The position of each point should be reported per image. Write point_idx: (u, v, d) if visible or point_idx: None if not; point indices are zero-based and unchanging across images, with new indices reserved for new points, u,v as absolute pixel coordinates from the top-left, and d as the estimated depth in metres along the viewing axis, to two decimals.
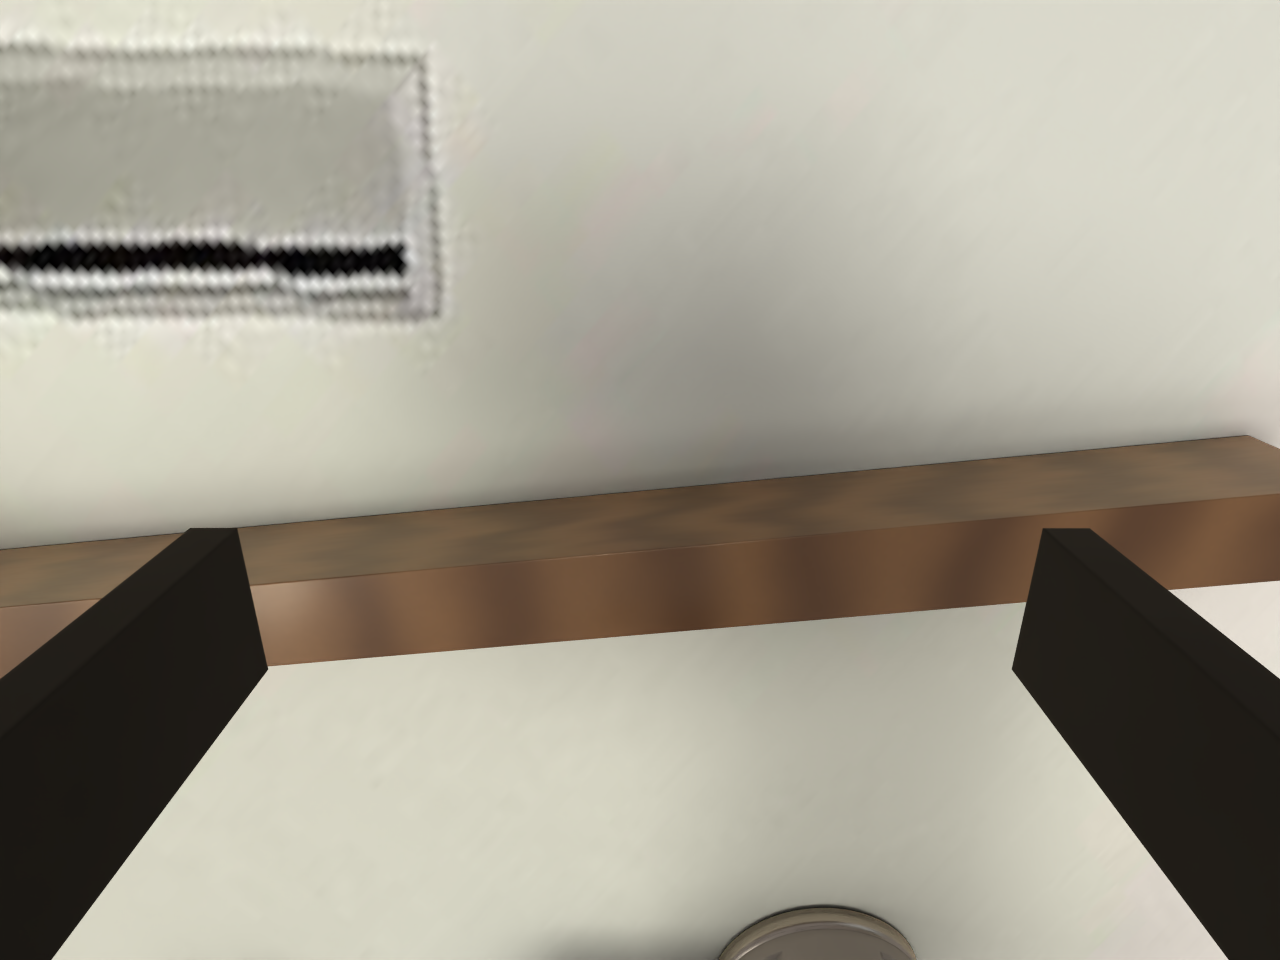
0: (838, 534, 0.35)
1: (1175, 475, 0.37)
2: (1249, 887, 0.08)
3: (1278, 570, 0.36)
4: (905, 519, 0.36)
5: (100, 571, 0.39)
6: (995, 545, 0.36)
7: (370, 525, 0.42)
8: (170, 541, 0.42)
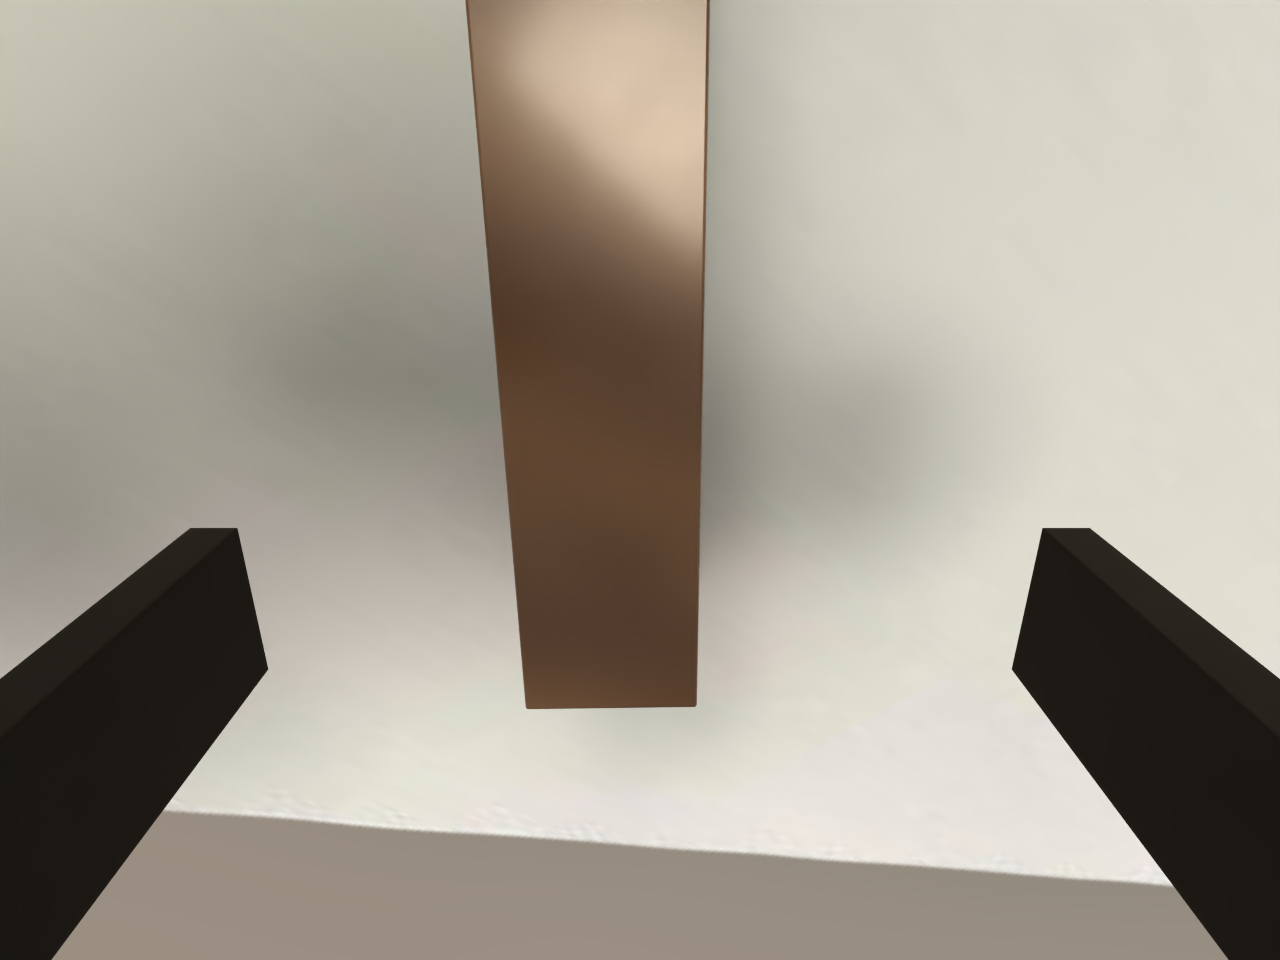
0: None
1: None
2: (1249, 887, 0.08)
3: (540, 613, 0.19)
4: None
5: None
6: (636, 1, 0.14)
7: None
8: None
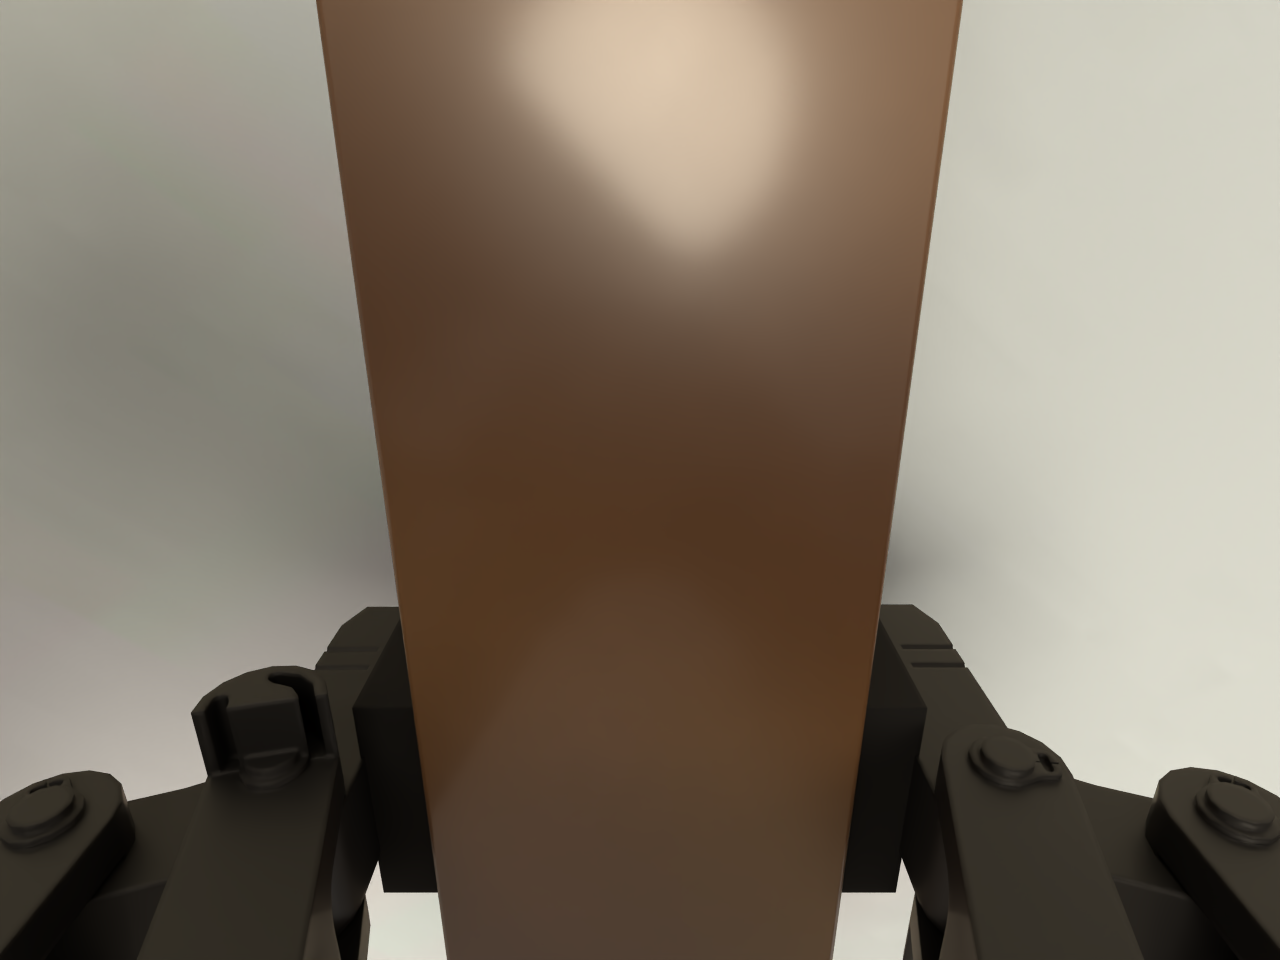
0: None
1: None
2: None
3: None
4: None
5: None
6: None
7: None
8: None
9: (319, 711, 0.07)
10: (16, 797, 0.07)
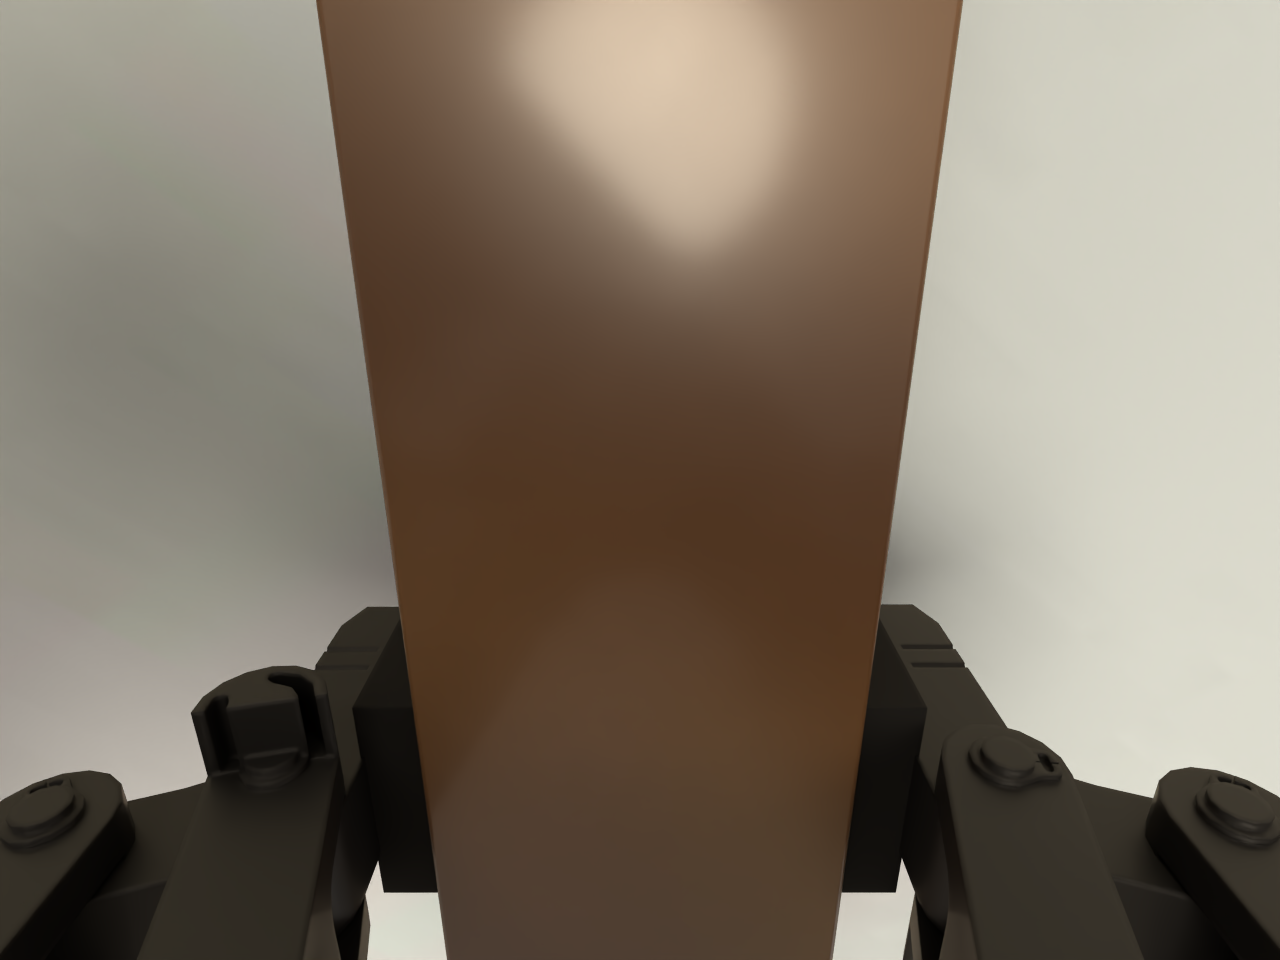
0: None
1: None
2: None
3: None
4: None
5: None
6: None
7: None
8: None
9: (319, 711, 0.07)
10: (17, 797, 0.07)
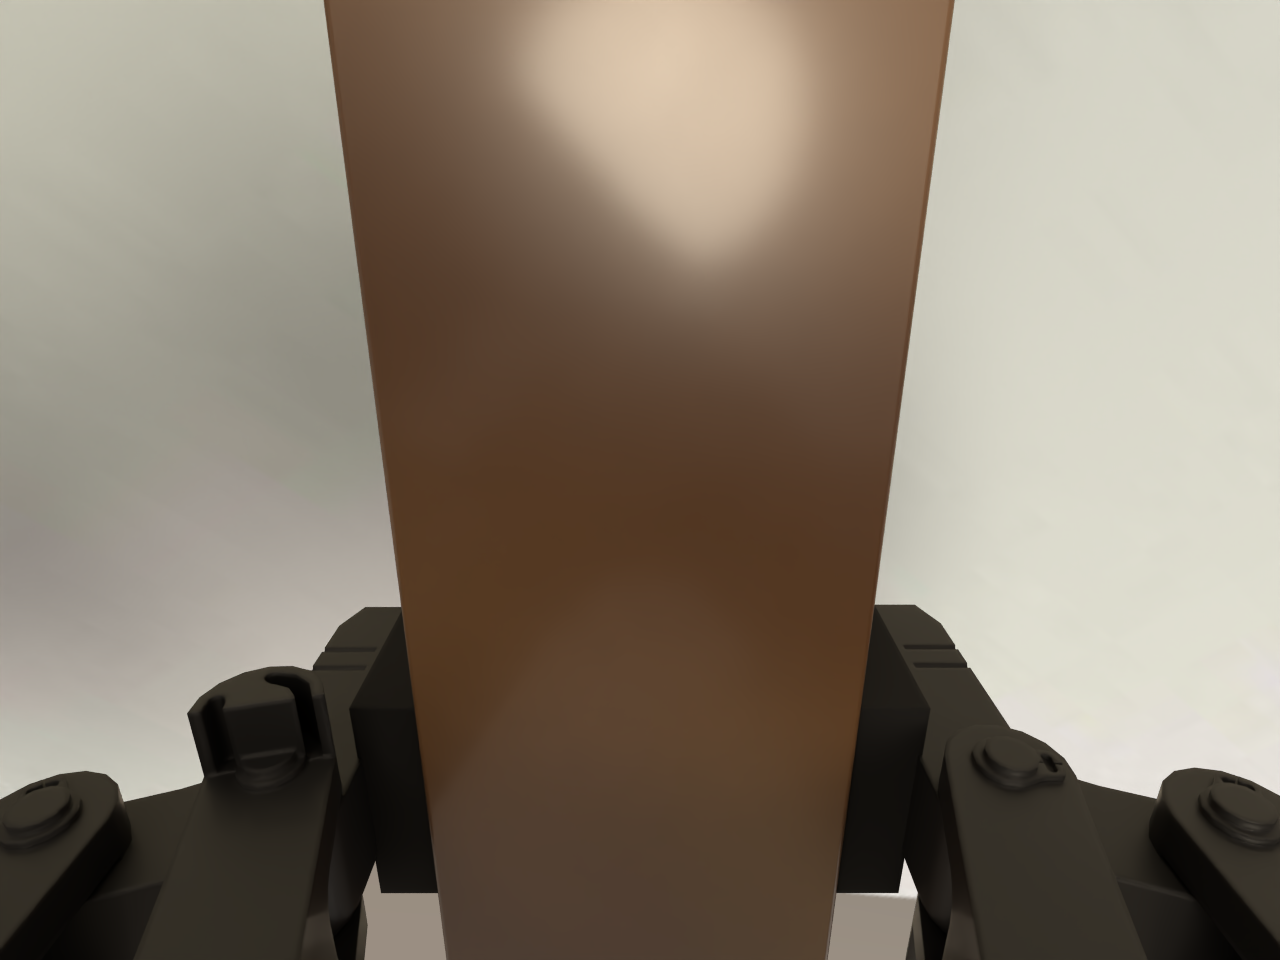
0: None
1: None
2: None
3: None
4: None
5: None
6: None
7: None
8: None
9: (316, 712, 0.07)
10: (12, 798, 0.07)
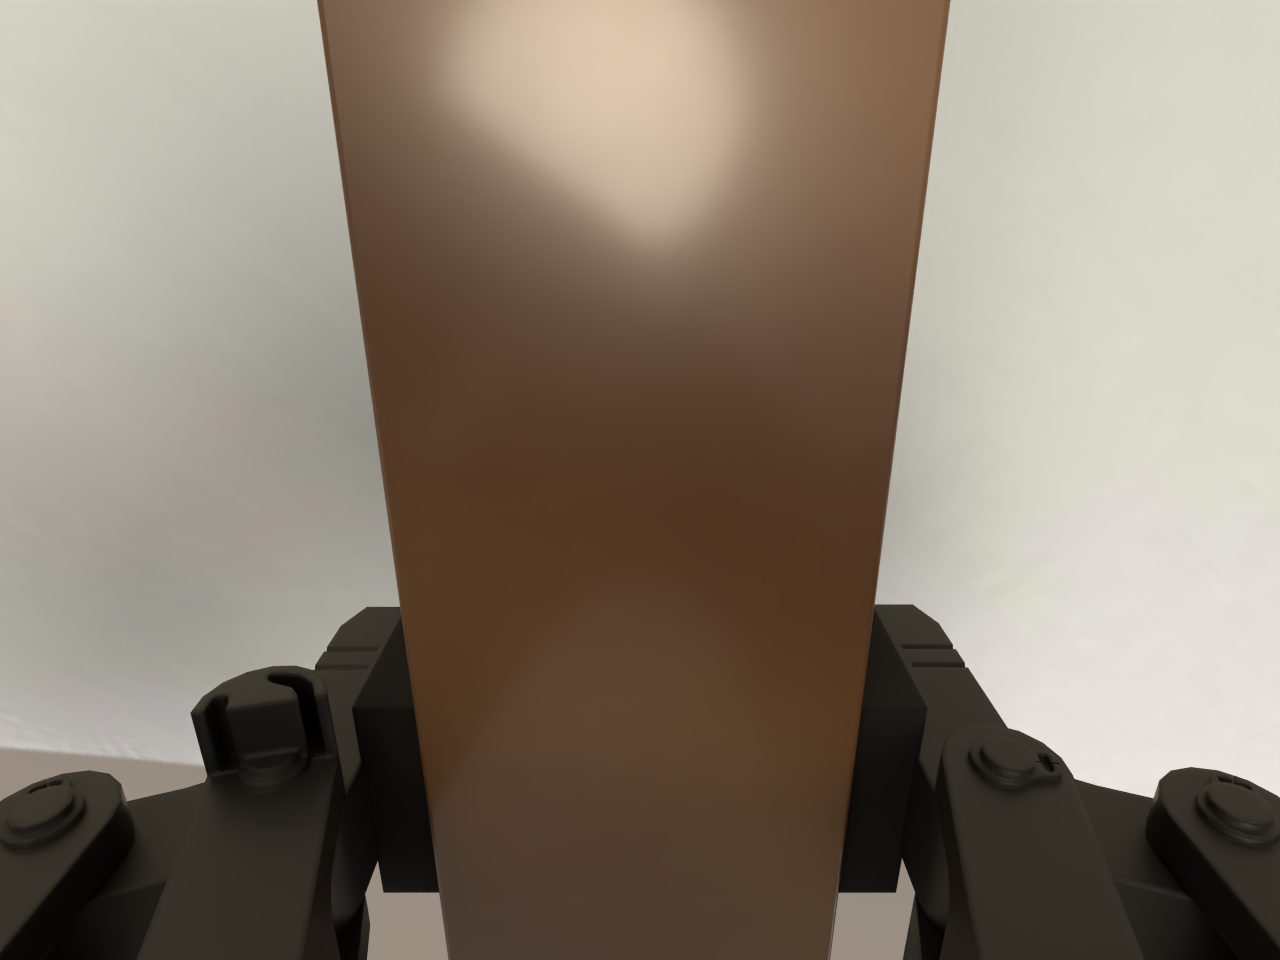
0: None
1: None
2: None
3: None
4: None
5: None
6: None
7: None
8: None
9: (319, 711, 0.07)
10: (16, 797, 0.07)
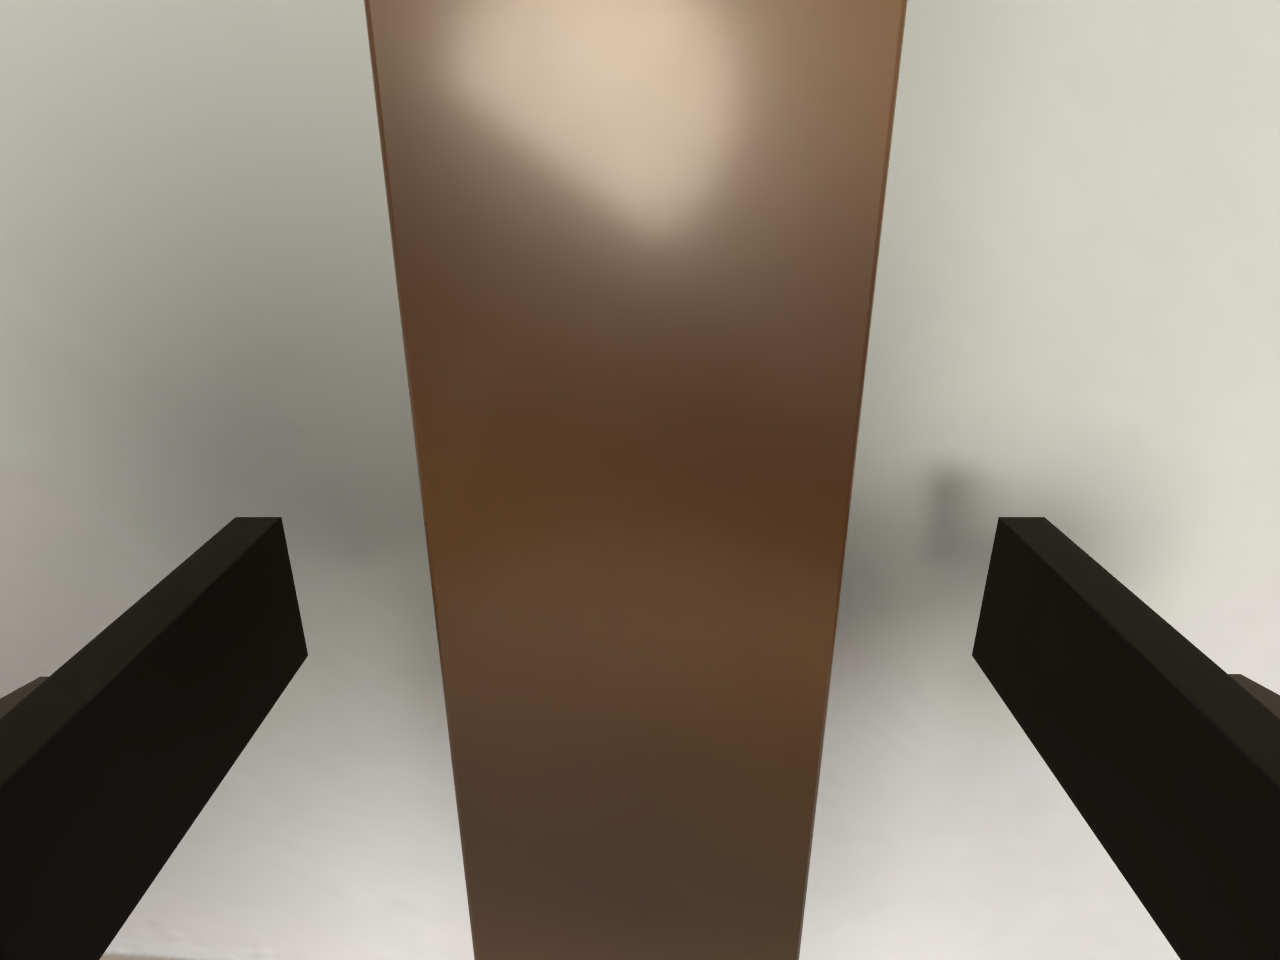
0: None
1: None
2: (1174, 855, 0.08)
3: (506, 862, 0.10)
4: None
5: None
6: None
7: None
8: None
9: None
10: None
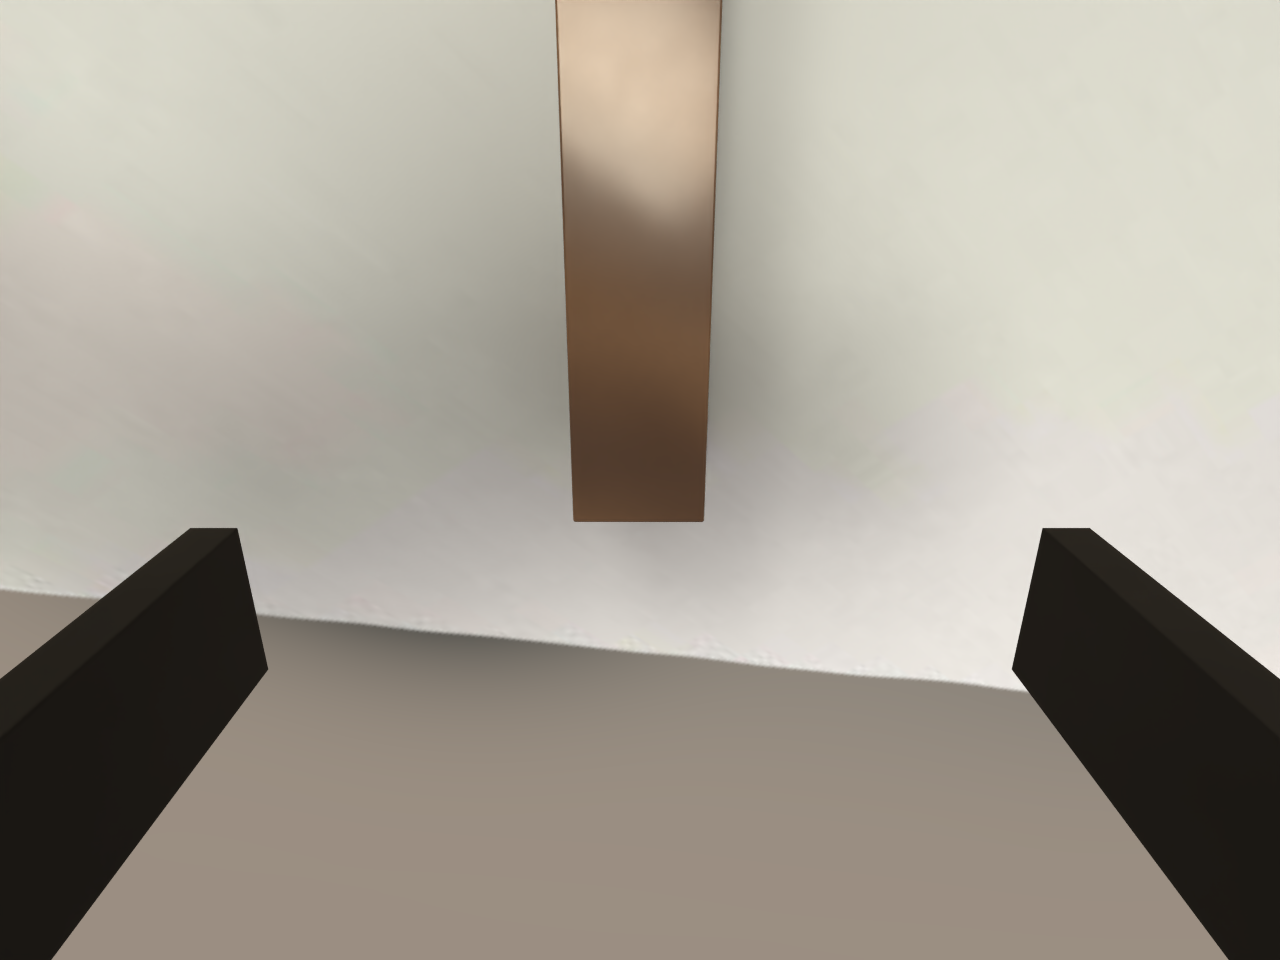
0: None
1: None
2: (1249, 887, 0.08)
3: (587, 441, 0.26)
4: None
5: None
6: None
7: None
8: None
9: None
10: None
